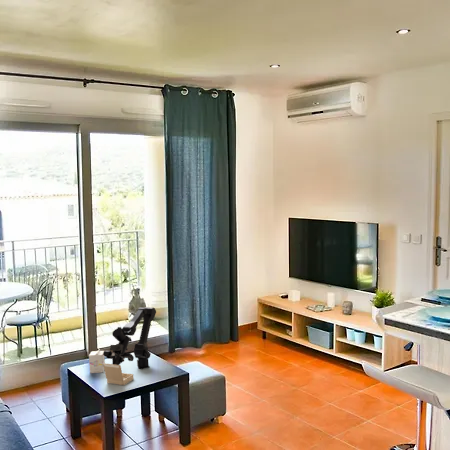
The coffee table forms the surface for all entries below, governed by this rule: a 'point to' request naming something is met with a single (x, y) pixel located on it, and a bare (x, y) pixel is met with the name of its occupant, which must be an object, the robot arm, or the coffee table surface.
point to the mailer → (126, 379)
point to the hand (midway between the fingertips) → (113, 369)
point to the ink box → (96, 361)
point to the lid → (113, 371)
